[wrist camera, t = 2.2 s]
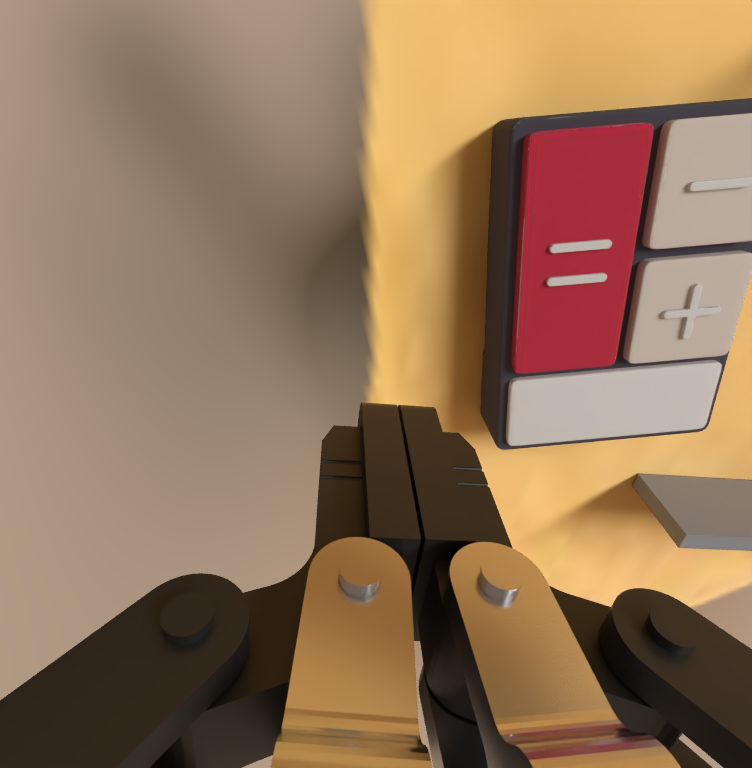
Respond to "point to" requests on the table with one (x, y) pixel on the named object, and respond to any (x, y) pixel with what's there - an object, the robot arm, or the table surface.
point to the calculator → (614, 270)
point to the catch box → (700, 509)
